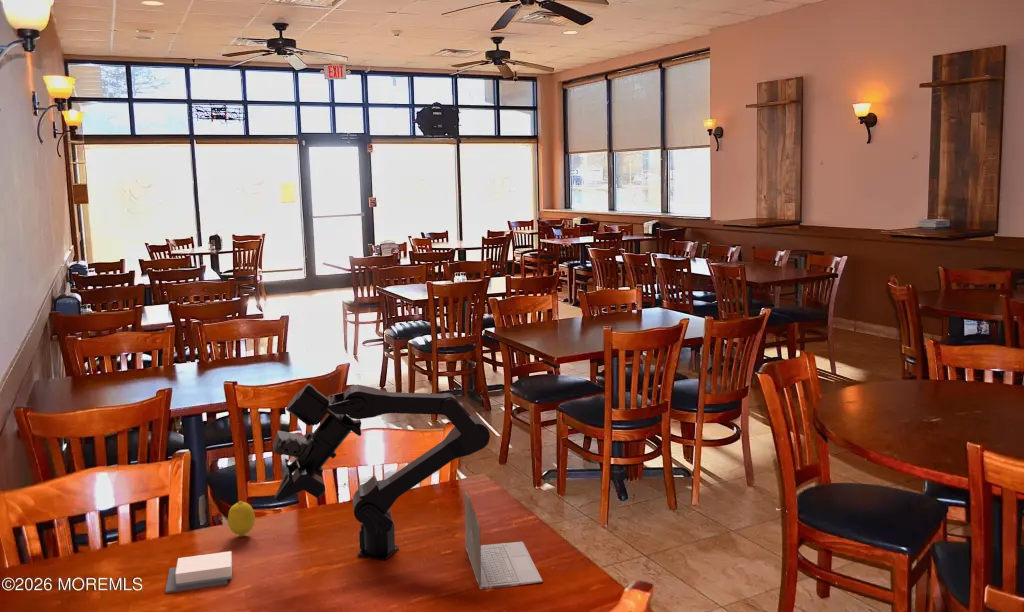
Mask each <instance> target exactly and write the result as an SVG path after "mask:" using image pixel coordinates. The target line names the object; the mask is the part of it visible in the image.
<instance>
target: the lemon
mask: <svg viewBox="0 0 1024 612" xmlns="http://www.w3.org/2000/svg"><path fill="white" fill-rule="evenodd" d="M227 516H228V517H227V524H228V527H229V529H230V531H231V532H232V533H233V534H235V535H238V536H240V537H244V536H245V535H246V534H248V533H249V532H251V530H252V529H253V527H254V526H255V520H256V518H255V517H256V515H255V512H254V509H253V507H252V505H251V504H249V503H248V502H245V501H242V500H240V501H238V502H236V503H234V504H233V505H232V506H231V507H230V509H229V510H228V515H227Z"/></svg>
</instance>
